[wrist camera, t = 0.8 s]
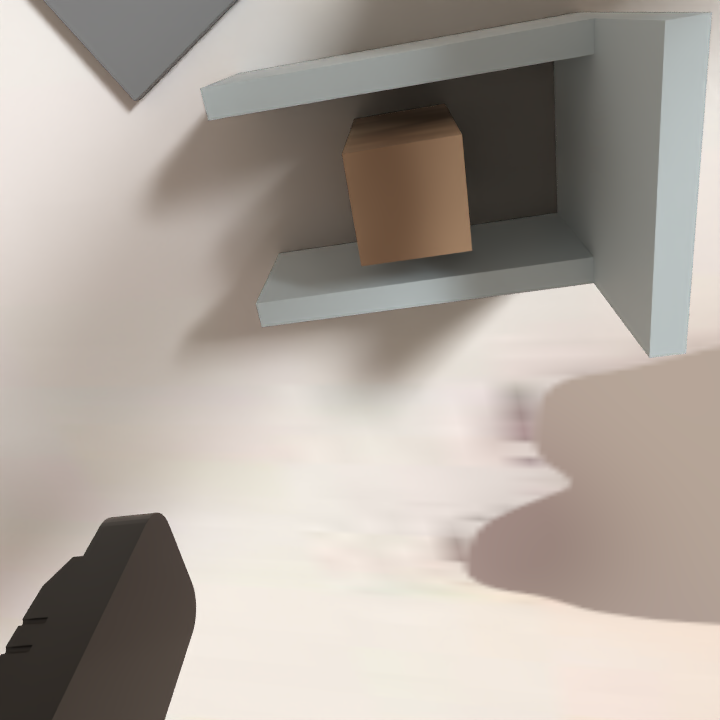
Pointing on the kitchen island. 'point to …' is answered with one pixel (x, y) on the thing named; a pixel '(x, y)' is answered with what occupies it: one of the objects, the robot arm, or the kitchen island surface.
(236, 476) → the kitchen island surface
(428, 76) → the shelf bay
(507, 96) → the kitchen island surface
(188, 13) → the slate pad
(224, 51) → the kitchen island surface
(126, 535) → the robot arm
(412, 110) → the walnut block
